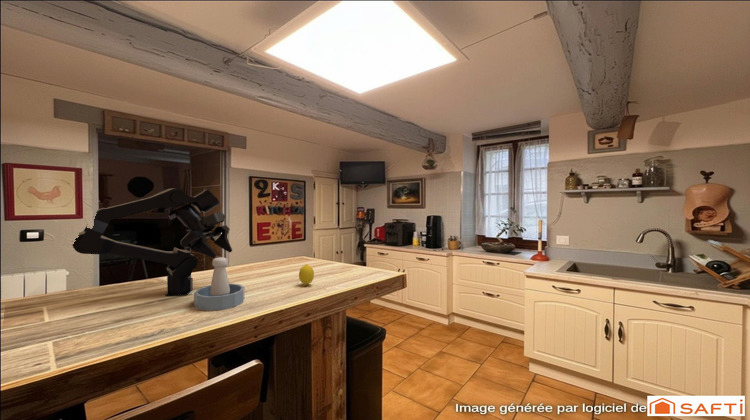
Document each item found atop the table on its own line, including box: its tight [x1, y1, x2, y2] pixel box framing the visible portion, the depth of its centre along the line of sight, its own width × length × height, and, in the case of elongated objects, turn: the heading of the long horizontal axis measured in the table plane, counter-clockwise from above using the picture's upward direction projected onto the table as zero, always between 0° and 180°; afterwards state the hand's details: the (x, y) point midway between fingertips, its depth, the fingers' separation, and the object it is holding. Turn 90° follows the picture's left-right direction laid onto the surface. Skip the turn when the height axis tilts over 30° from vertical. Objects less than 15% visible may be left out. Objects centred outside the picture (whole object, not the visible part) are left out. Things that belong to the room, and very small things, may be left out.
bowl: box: [193, 282, 245, 312], centre depth 99 cm, size 14×14×4 cm
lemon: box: [298, 263, 315, 286], centre depth 119 cm, size 6×6×8 cm
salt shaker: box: [210, 256, 230, 296], centre depth 99 cm, size 6×6×13 cm
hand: (223, 254), depth 106 cm, fingers open, 9 cm apart
